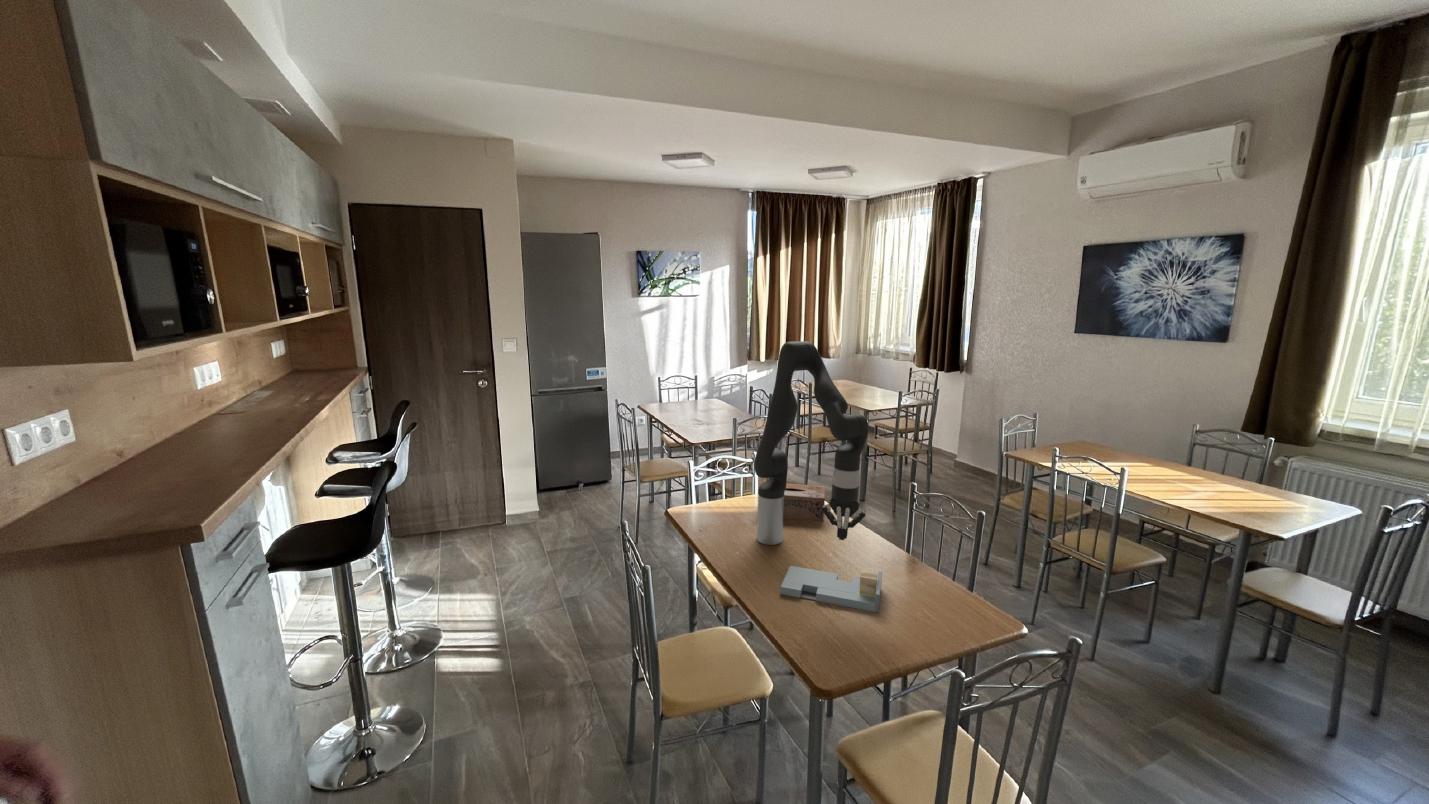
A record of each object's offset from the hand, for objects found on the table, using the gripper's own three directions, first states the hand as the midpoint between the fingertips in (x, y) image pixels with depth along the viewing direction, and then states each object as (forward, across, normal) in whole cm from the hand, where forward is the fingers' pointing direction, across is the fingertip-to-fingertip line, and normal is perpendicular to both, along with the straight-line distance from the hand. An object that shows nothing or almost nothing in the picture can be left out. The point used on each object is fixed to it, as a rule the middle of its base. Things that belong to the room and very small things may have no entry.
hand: (841, 538), depth 165 cm
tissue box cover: (+18, +26, -57) cm, 65 cm away
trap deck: (+17, +2, 0) cm, 17 cm away
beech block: (+15, -8, 0) cm, 17 cm away
